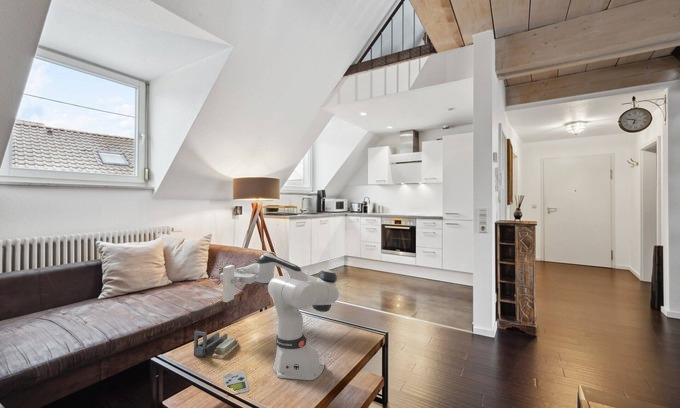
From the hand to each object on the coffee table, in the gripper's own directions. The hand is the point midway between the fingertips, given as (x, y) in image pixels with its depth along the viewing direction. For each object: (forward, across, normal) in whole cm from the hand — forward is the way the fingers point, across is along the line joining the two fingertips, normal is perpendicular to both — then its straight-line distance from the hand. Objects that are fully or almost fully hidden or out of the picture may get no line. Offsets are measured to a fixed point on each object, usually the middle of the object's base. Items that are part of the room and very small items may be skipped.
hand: (228, 281), depth 159 cm
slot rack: (+12, 0, -30) cm, 32 cm away
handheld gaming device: (+32, -28, -30) cm, 52 cm away
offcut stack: (+12, -8, -30) cm, 34 cm away
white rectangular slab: (0, 0, -10) cm, 10 cm away
